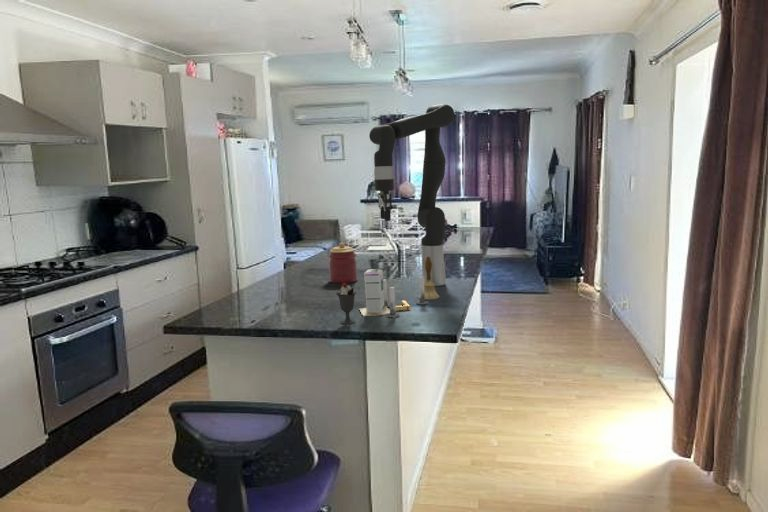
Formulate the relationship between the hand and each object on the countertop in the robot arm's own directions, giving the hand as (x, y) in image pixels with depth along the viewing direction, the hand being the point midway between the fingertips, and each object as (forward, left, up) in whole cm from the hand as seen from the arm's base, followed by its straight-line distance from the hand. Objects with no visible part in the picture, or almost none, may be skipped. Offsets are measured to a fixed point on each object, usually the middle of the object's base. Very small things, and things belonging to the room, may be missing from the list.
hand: (385, 219), depth 223 cm
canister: (+14, -34, -30) cm, 48 cm away
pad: (+10, +26, -30) cm, 41 cm away
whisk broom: (-14, +10, -30) cm, 35 cm away
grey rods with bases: (-2, +26, -30) cm, 40 cm away
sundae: (+21, +36, -30) cm, 52 cm away
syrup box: (+10, +26, -30) cm, 41 cm away
